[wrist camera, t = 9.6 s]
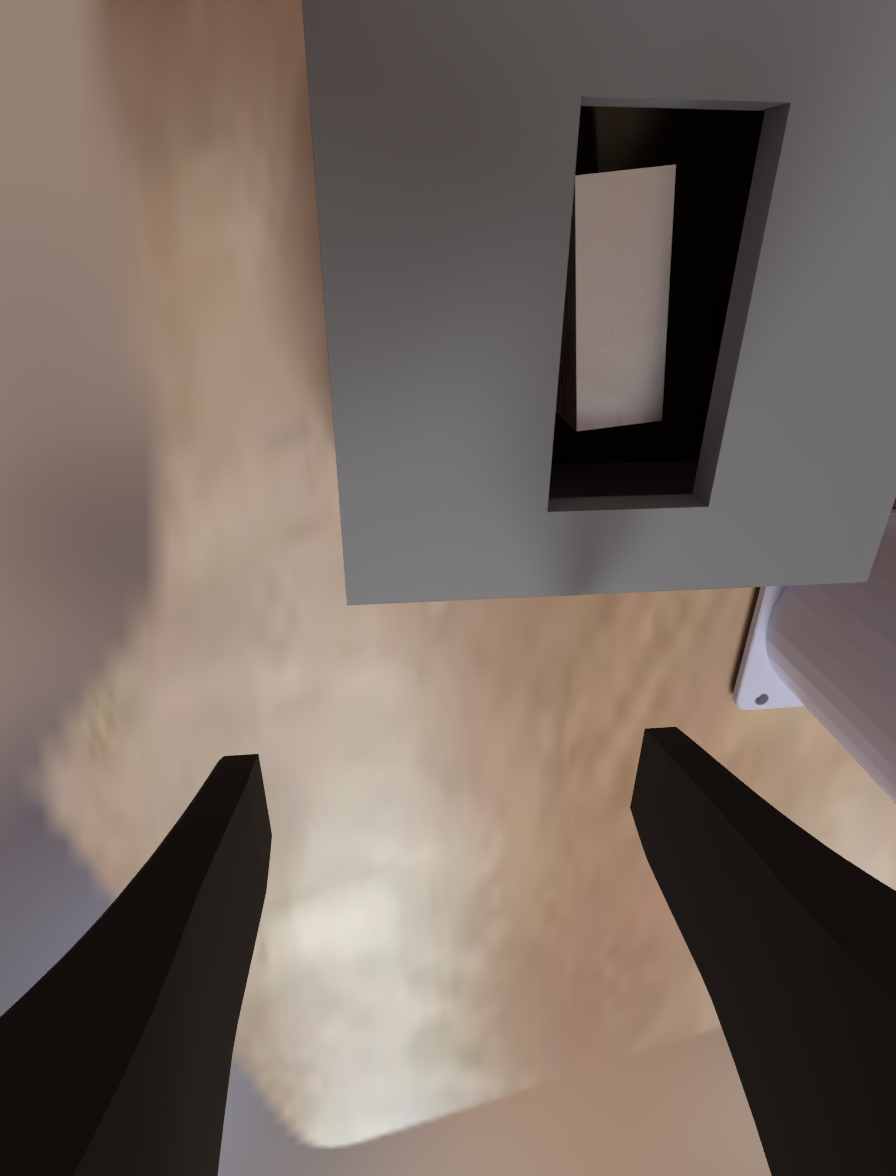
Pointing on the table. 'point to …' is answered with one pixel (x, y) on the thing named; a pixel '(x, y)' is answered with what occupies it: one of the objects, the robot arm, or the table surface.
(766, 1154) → the robot arm
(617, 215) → the block
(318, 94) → the coin box
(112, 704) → the table surface
